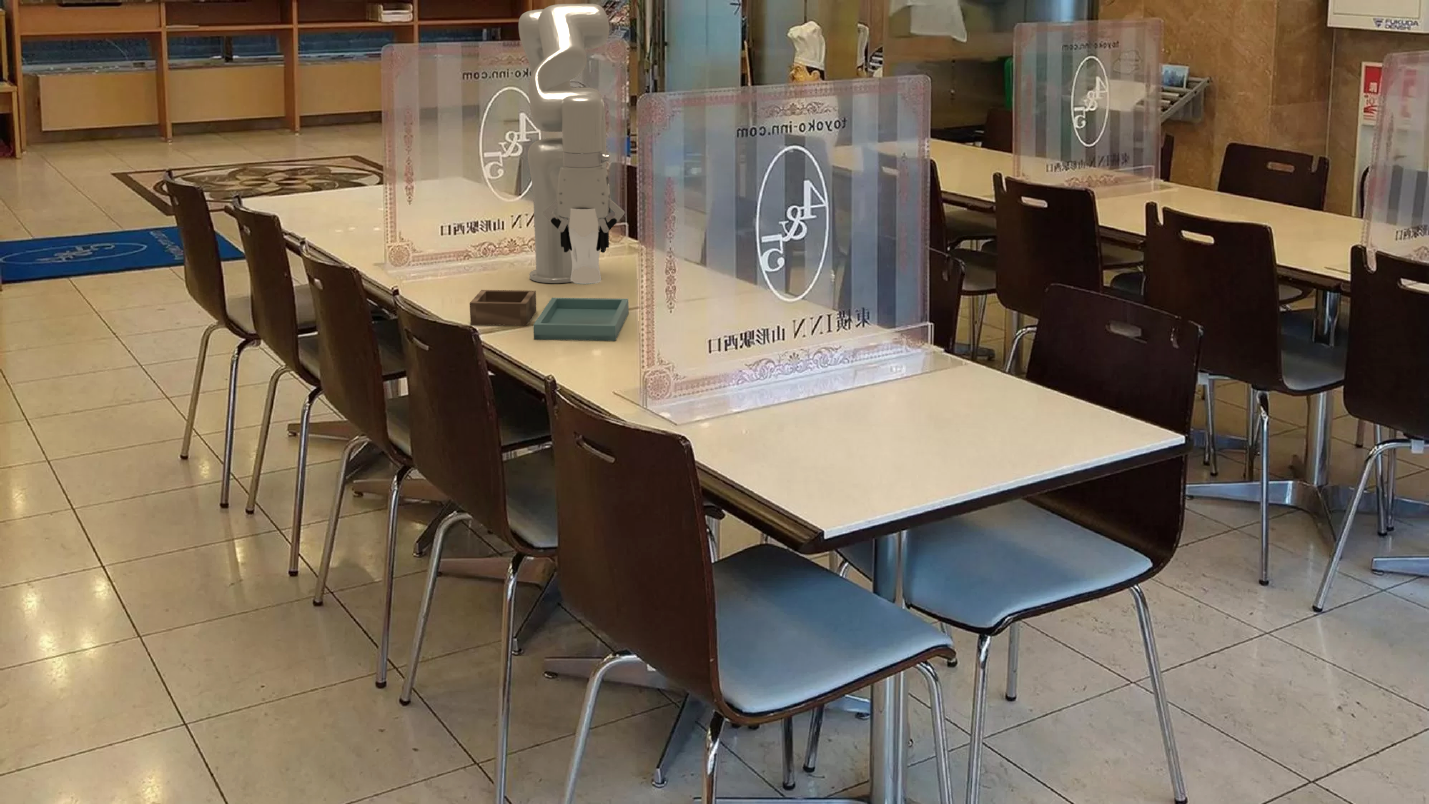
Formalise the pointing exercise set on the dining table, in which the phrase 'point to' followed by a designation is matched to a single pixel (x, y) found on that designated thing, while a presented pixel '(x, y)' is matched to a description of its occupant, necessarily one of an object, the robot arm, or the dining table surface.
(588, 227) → the beer glass
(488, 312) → the box
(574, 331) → the tray
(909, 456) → the dining table surface
